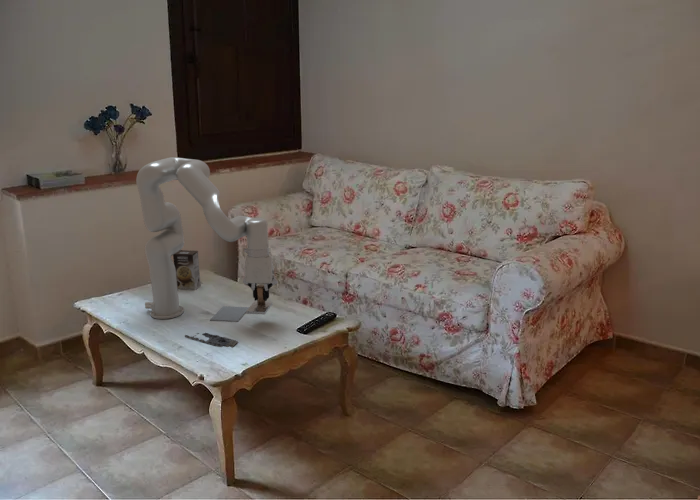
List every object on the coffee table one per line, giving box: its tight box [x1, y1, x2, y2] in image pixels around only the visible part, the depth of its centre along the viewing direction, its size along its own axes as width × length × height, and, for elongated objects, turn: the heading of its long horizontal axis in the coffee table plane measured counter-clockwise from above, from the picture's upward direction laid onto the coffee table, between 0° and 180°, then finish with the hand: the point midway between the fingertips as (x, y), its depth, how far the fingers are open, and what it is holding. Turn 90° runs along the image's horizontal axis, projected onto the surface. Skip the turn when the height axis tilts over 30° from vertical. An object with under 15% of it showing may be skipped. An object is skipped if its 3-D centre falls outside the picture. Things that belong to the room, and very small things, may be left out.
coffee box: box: [172, 249, 201, 291], centre depth 280 cm, size 9×6×16 cm
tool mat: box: [209, 305, 250, 323], centre depth 250 cm, size 11×14×1 cm
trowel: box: [245, 284, 273, 316], centre depth 237 cm, size 7×10×8 cm
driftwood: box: [184, 332, 239, 349], centre depth 227 cm, size 21×7×2 cm, turn 57°
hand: (261, 299), depth 240 cm, fingers closed on trowel, 3 cm apart
